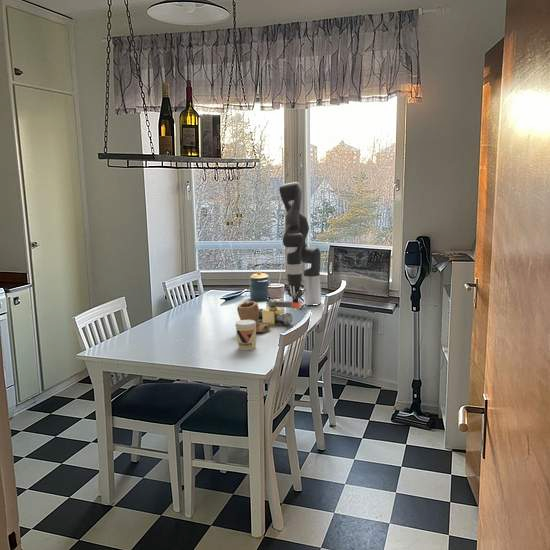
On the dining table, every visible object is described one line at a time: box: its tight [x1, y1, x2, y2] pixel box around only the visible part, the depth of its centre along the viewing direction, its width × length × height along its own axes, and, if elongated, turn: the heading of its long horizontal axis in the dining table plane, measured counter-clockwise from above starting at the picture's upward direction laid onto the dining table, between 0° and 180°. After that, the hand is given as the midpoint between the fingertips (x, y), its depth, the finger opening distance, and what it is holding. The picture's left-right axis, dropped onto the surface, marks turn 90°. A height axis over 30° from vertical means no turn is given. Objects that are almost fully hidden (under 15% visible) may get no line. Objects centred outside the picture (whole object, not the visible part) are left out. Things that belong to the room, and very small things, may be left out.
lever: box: [267, 299, 303, 310], centre depth 295 cm, size 17×4×3 cm, turn 67°
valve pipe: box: [258, 306, 293, 327], centre depth 299 cm, size 20×8×9 cm, turn 50°
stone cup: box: [237, 300, 272, 333], centre depth 283 cm, size 15×12×15 cm
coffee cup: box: [235, 319, 257, 351], centre depth 259 cm, size 9×9×12 cm
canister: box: [248, 270, 271, 302], centre depth 352 cm, size 13×13×18 cm
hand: (295, 305), depth 296 cm, fingers closed
